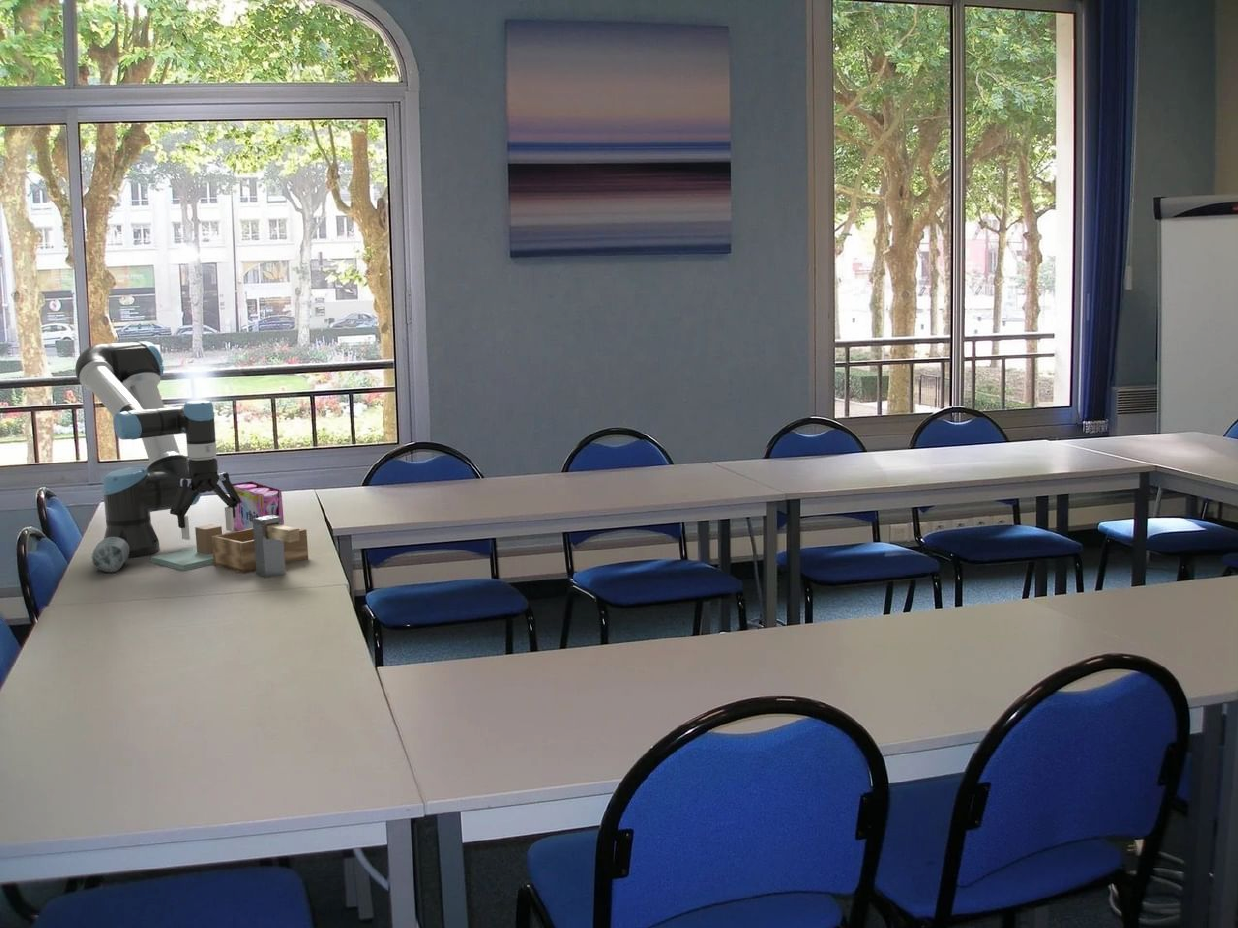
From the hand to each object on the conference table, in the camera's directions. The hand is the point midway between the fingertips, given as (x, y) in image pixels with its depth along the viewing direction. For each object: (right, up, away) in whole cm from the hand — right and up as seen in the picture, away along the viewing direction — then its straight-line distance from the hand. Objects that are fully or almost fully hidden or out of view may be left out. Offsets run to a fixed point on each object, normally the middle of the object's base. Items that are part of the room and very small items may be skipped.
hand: (208, 534), depth 338 cm
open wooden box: (+16, -7, -6) cm, 19 cm away
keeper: (+23, -9, -20) cm, 32 cm away
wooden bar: (+25, +1, -24) cm, 35 cm away
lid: (-1, -7, 0) cm, 7 cm away
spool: (-22, -9, -10) cm, 26 cm away
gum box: (+4, -1, +33) cm, 33 cm away
